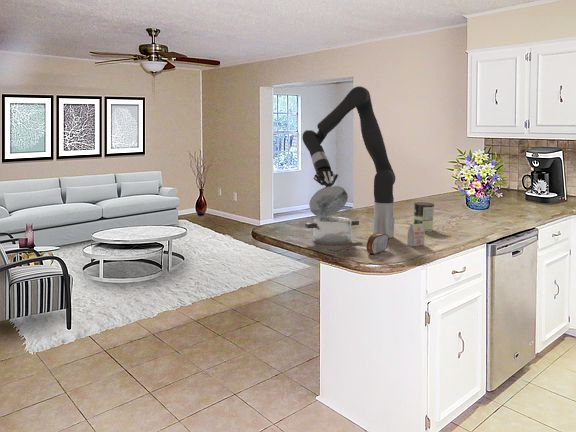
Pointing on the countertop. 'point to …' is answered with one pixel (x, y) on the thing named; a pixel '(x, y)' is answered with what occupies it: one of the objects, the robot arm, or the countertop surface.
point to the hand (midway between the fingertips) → (331, 191)
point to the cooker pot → (332, 230)
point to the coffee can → (424, 215)
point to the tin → (377, 243)
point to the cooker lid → (328, 201)
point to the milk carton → (416, 235)
